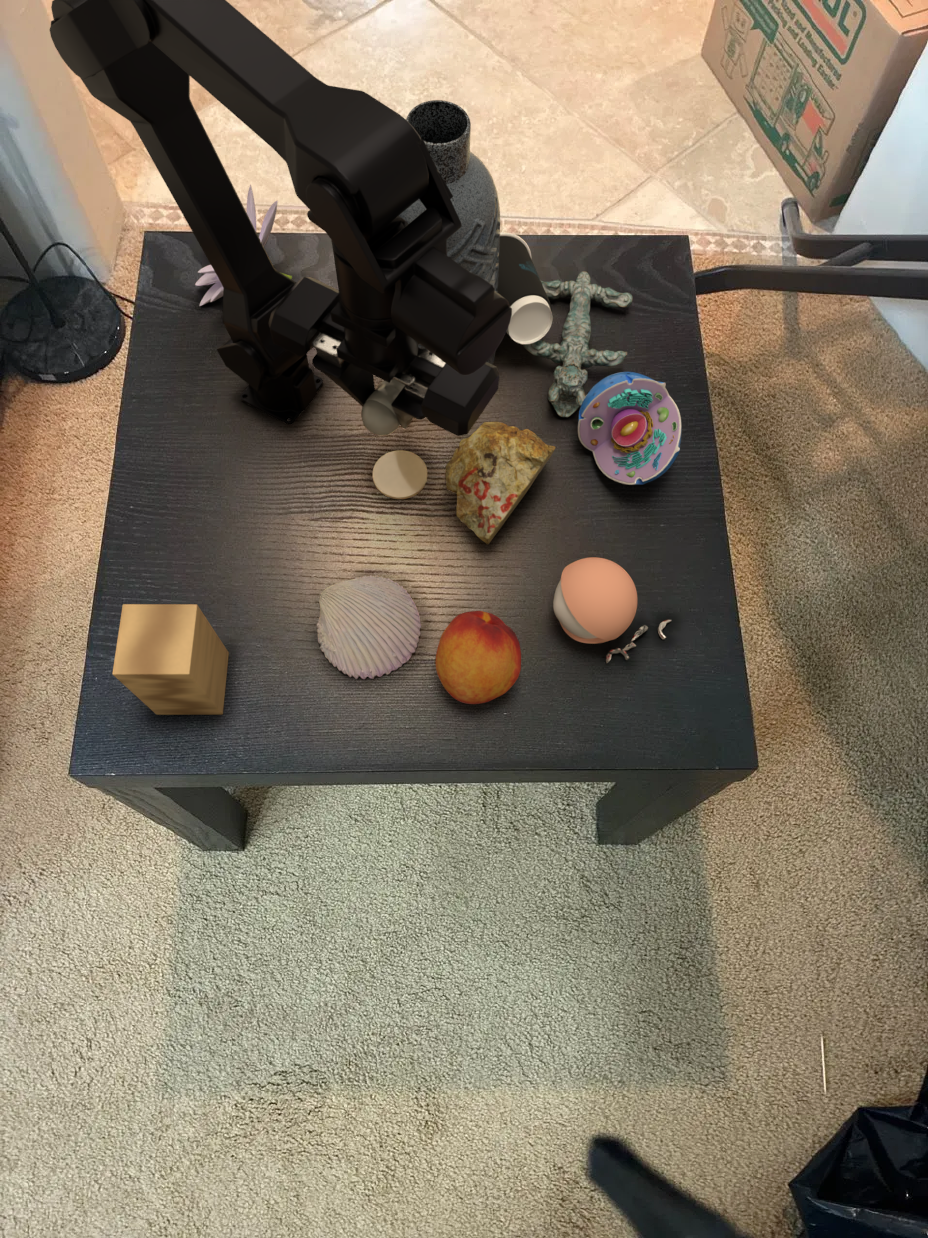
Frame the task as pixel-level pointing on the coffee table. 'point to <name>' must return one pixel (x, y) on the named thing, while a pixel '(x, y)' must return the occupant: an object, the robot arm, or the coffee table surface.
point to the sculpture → (577, 340)
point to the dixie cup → (522, 291)
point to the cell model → (630, 427)
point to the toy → (636, 635)
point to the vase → (461, 189)
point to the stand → (171, 659)
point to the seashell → (367, 626)
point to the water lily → (266, 228)
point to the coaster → (399, 474)
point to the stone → (381, 409)
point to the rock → (494, 474)
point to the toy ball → (595, 600)
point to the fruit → (478, 657)
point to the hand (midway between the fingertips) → (388, 415)
